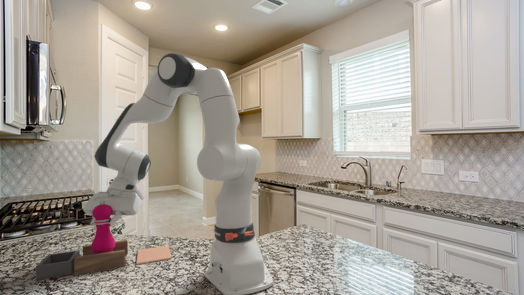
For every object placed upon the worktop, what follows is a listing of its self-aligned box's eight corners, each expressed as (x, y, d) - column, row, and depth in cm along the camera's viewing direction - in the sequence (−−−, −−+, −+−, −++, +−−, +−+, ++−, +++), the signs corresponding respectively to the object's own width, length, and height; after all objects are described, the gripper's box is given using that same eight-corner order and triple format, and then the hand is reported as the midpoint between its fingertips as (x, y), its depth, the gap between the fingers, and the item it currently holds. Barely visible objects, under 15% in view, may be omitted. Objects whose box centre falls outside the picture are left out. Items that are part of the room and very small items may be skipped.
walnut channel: (124, 266, 91) (124, 251, 91) (74, 274, 86) (74, 258, 86) (127, 253, 103) (127, 239, 103) (83, 260, 98) (83, 245, 98)
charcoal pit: (71, 274, 86) (71, 261, 86) (36, 280, 83) (35, 266, 83) (79, 261, 97) (79, 250, 97) (48, 266, 93) (48, 254, 93)
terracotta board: (171, 259, 96) (171, 257, 96) (136, 264, 92) (136, 263, 92) (168, 246, 109) (168, 245, 109) (138, 251, 105) (138, 249, 105)
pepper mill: (117, 253, 99) (115, 197, 99) (114, 260, 92) (112, 200, 93) (93, 256, 97) (92, 199, 97) (89, 264, 90) (87, 202, 90)
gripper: (91, 186, 104) (69, 219, 94) (140, 186, 100) (123, 220, 90) (101, 196, 108) (80, 229, 98) (148, 196, 104) (132, 230, 94)
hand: (101, 224), depth 94 cm, fingers closed on pepper mill, 5 cm apart
